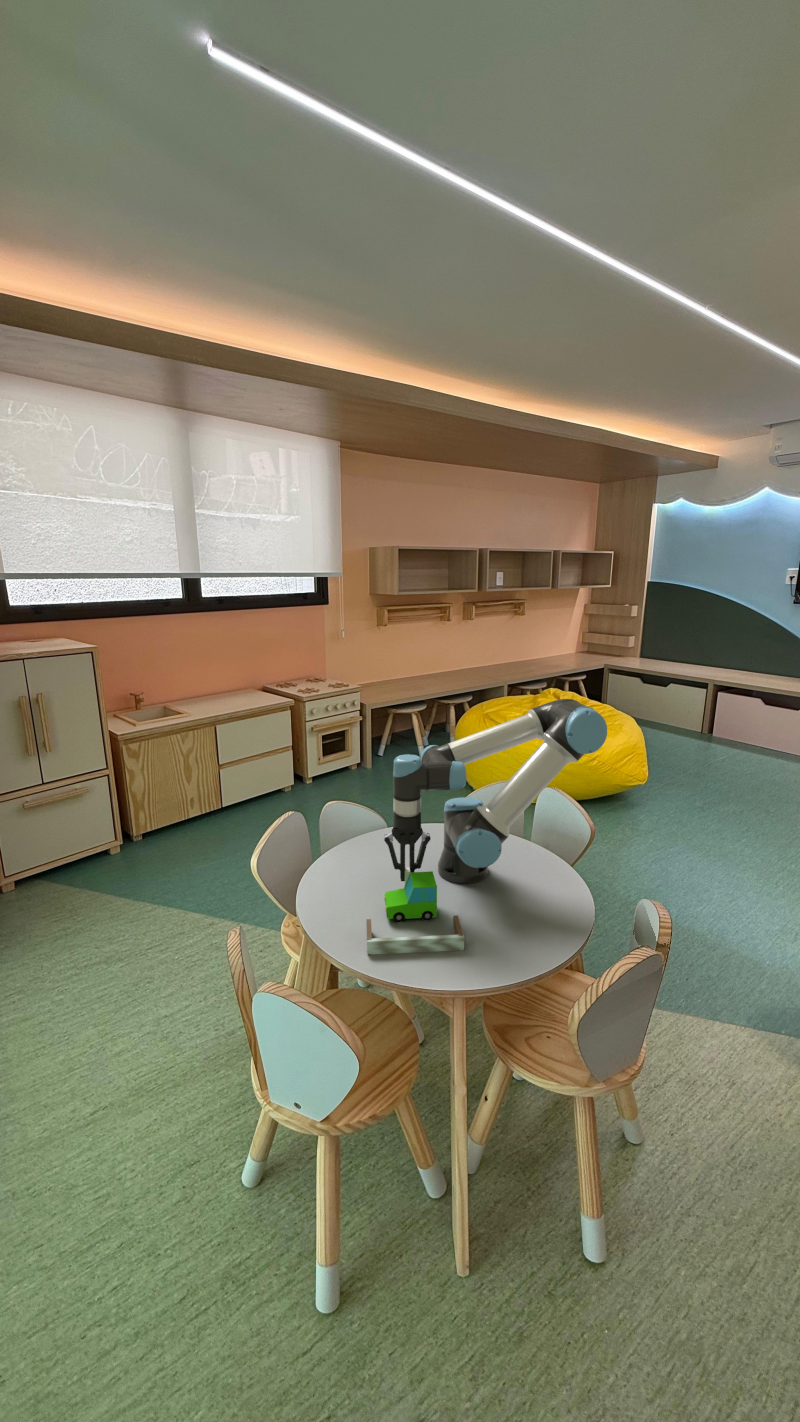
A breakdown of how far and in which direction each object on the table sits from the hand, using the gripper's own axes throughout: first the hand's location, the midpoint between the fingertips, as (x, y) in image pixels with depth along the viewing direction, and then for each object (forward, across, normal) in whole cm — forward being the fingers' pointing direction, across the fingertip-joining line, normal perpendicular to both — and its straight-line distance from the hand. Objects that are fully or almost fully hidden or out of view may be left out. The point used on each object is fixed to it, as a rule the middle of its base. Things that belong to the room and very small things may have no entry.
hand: (407, 890), depth 170 cm
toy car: (+3, 0, +8) cm, 8 cm away
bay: (+3, 0, +20) cm, 20 cm away
